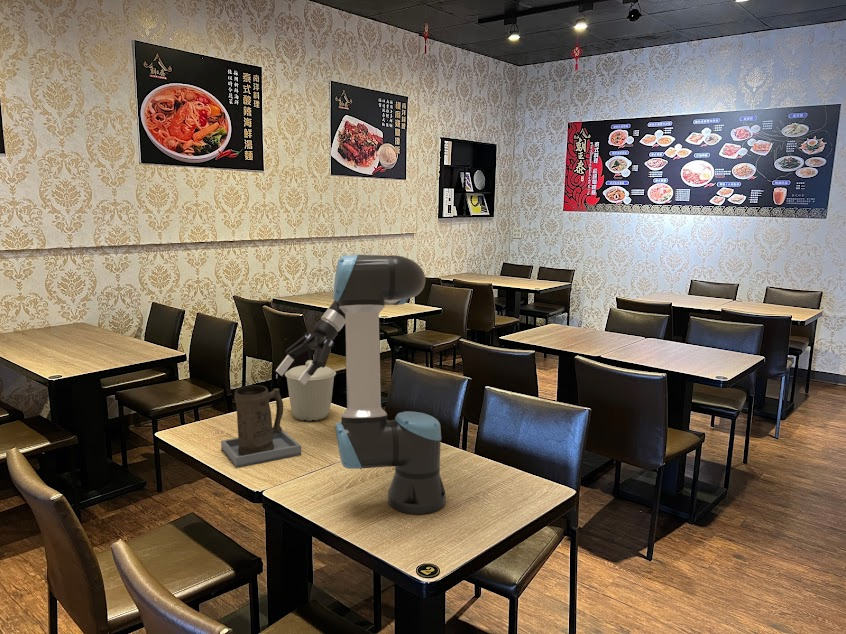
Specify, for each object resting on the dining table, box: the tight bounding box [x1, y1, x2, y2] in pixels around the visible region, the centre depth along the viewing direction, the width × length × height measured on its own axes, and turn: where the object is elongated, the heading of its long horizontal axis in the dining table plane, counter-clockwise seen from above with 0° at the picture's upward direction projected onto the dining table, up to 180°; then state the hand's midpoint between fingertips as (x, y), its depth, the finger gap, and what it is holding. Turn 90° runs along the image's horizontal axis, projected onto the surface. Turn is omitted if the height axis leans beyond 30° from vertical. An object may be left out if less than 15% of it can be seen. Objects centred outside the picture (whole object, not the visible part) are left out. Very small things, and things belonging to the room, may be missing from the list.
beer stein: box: [234, 384, 284, 456], centre depth 193 cm, size 15×11×20 cm
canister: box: [284, 359, 337, 422], centre depth 227 cm, size 18×18×21 cm
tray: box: [220, 429, 302, 469], centre depth 194 cm, size 16×20×3 cm
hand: (289, 377), depth 198 cm, fingers open, 13 cm apart
